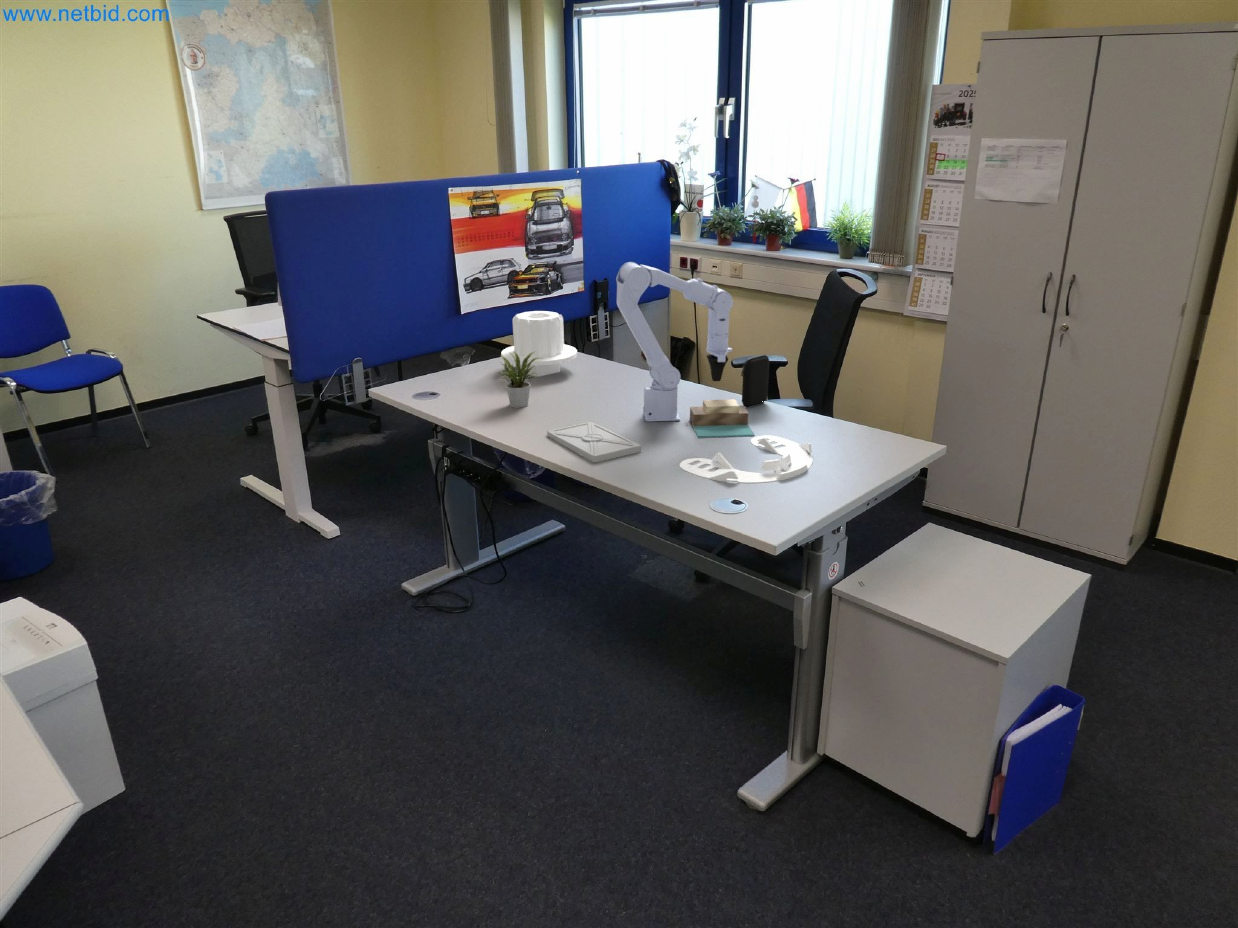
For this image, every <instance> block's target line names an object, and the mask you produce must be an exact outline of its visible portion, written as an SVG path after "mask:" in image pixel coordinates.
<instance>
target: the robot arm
mask: <svg viewBox="0 0 1238 928" xmlns="http://www.w3.org/2000/svg"><path fill="white" fill-rule="evenodd" d="M615 280H616V305H617V308H618V310H619V311H620V314H621V315H622V317H623V319H624V321H625V323H626V324H627V326H628V327H629V330H630V331H631V333H632V335H633V337H634V339H635V340H636V343H637V344H638V345H639V348H640V349H641V351H642V353H643V355H644V357H645V359H646V362H647V365H648V368H649V370H648V371H649V376H650V377H651V379H652V382H651V386H645V387H644V388H643V408H642V409H643V410H642V411H643V415H644V419H645V422H673V421H674V422H677V421H680V420H681V419H680V415H679V412H678V388H679V387H678V385H679V384H680V382H681V373H680V370H679V369H677V368H676V367H674V366H673V365H672V363H671V362H670V359H668V357H667V356H666V355H665V353H664V352H663V349H662V347H661V346H660V344H659V342H658V340H657V338H656V336H655V335H654V332H653V331H652V329H651V327H650V325H649V324H648V323H649V322H648V321H647V320H646V318H645V317H644V314H643V312H642V311H641V309H640V306H639V305H638V303H639V301H640V298H641V297H642V295H643V294H644V293H645V291H646V290H647V289H648V287H651V288H653V287H655V286H657V285H660V286H663V287H667V288H670V289H673V290H675V291H678V292H680V293H682V295H683V297H684V299H685V300H688V301H690V302H694V303H696V304H698V305H701V306H703V307H708V316H707V317H708V318H707V319H708V320H707V343H706V352H707V353H708V354H706V356H705V357H706V358H707V361H708V364H709V369H710V375H711V380H712V381H713V382H721V381H722V377H723V373H724V369H725V367H726V365H727V363H728V362H729V361H728V360H729V357H728V353H729V352H730V353H731V352H733V348H732V347H729V332H730V331H729V329H730V310H732V308H733V306H734V304H735V303H734V300H733V297H732V295H731V294H730V293H729V292H728V291H726V290H724V289H722V288H719V286H718V285H716V284H709V283H706V282H704V280H703V279H702V278H699V277H697V278H691V279H688V280H684V279H683V278H679V277H677V276H675V275H672V274H670V273H668V272H665V271H663V270H661V269H659V268H656V267H653V266H652V267H651V266H649V265H645V264H638V263H636V262H634V261H629V262H625V263H623V265H621V266H620V268H619V271H618V273H617V275H616V279H615Z"/></svg>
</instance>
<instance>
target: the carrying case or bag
mask: <svg viewBox="0 0 1238 928" xmlns="http://www.w3.org/2000/svg"><path fill="white" fill-rule="evenodd" d="M741 369H742V370H741V374H740V376H741V377H742V387H741V388H742V389H741V403H742V405H743V406H744V407H745V409H746V408H747V409H748V408H752V407H755V406H760V405H763V404H764V403H765V402H766V401H767V400H768V395H769V394H768V391H769V379H770V378H769V377H770V359H769V357H768V356H767V355H766V354H762V355H761V354H760V355H757V356H753V357H749V358H747V359H746V360H745V361H744V363H743V365H742V368H741ZM762 401H763V402H762ZM764 401H765V402H764Z"/></svg>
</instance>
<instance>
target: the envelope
mask: <svg viewBox="0 0 1238 928" xmlns="http://www.w3.org/2000/svg"><path fill="white" fill-rule="evenodd" d="M546 436H547V437H549V438H551V439H553V441H556V442H558V443H559V444H561V445H563V446H565V447H566V448H568V449H570V451H571V450H572V451H573V452H575V451H576V452H577V454H578V453H579V454H578V455H580V454H581V455H580V456H582V457H583V456H584V457H583V458H585V457H586V458H585V459H587V460H588V461H590V462H592V463H595V462H596V463H600V462H603V461H604V462H605V461H608V460H612V459H616V457H617V458H621V457H624V456H628V455H632V454H636V453H641V452H642V447H641V444H640V443H637V442H636V441H633V440H630V439H629V438H627V437H624V436H622V435H621V434H618V433H616V432H613V431H612V430H610V429H608V428H605V427H603V426H601V425H599V424H598V423H594V422H592V421H588V422H583V423H582V422H581V423H579V424H574V425H570V426H564V427H561V428H560V427H559V428H555V429H551V430H547V431H546ZM576 452H575V453H576Z"/></svg>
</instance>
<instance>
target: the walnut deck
mask: <svg viewBox="0 0 1238 928" xmlns="http://www.w3.org/2000/svg"><path fill="white" fill-rule="evenodd" d="M689 420H690V422H691V425H692V427H693V428H694V426H717V425H749V412H748V410H747V409H746V407H744V405H743V404H742V405H739V413H718V414H706V412H705V410H704V408H703V405H702V406H689Z"/></svg>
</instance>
